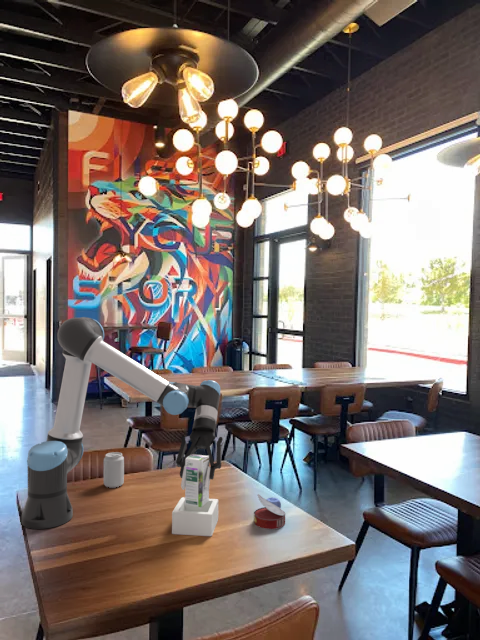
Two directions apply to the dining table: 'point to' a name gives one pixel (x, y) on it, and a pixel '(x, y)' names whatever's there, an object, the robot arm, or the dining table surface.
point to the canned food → (269, 515)
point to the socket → (195, 518)
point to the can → (113, 470)
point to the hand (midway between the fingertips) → (194, 488)
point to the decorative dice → (274, 501)
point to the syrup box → (196, 480)
